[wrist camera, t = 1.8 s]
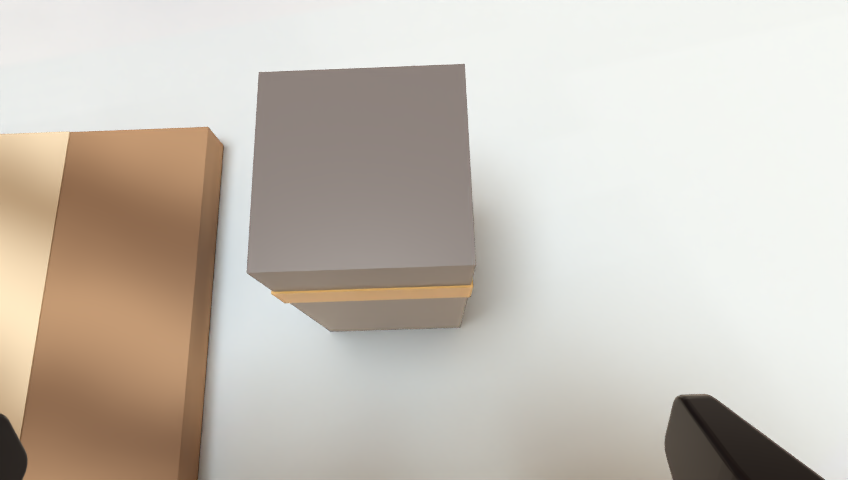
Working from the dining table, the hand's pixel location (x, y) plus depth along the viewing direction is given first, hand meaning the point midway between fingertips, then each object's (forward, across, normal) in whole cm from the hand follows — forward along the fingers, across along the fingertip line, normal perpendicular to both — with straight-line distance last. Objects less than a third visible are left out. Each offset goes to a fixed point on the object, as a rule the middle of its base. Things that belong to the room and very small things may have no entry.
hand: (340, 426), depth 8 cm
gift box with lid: (+12, 0, +5) cm, 13 cm away
